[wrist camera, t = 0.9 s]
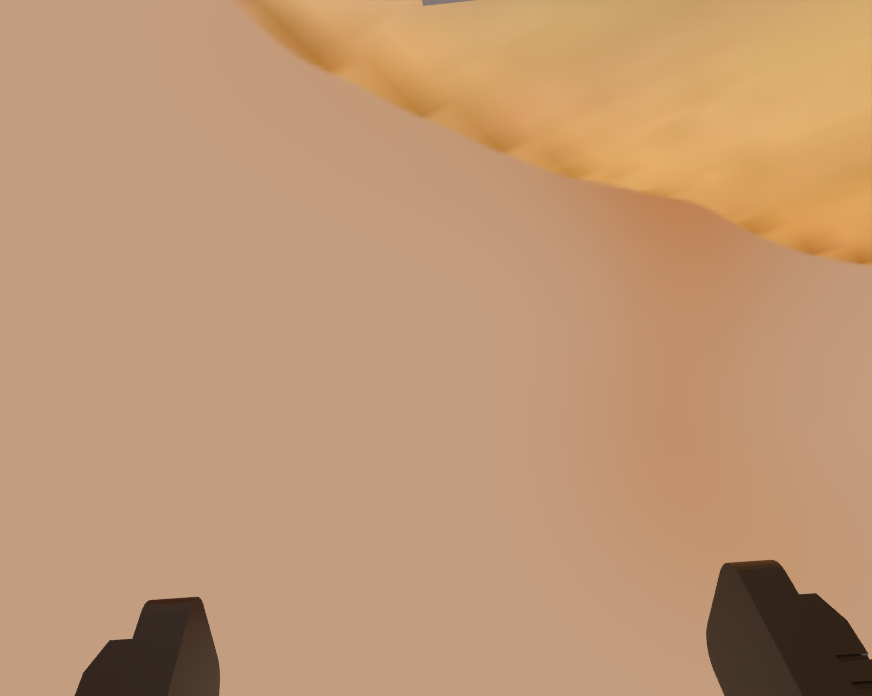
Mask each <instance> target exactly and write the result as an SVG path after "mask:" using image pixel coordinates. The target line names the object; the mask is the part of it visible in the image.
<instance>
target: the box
mask: <svg viewBox="0 0 872 696" xmlns="http://www.w3.org/2000/svg"><path fill="white" fill-rule="evenodd" d="M462 1H472V0H422V2H423V6H425V5H435V4H444V3H453V2H462Z"/></svg>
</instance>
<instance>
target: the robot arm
mask: <svg viewBox="0 0 872 696" xmlns="http://www.w3.org/2000/svg"><path fill="white" fill-rule="evenodd" d="M706 638H707V647H708V653H709V657H710V661H711V664H712V667H713V670H714V672H715V674H716V677H717V679H718V681H719V684H720V686H721V688H722V691H723V693H724V695H725V696H872V659H871V660H870V659H869V658H868V652H867V651H866V649H865V648H864V646H863V645H862V643H861V642H860V640H859V638H858V637H857V635H856V634H855V632H854V631H853V629H852V627H851V626H850V624H849V623H848V621H847V620H846V619H845V618H844V617H842V616H841V615H840V614H839V613H838V612H837V611H836V610H834V609H833V608H832V607H831V606H830V605H829V604H827V603H826V602H825V601H824V600H823V599H822V598H821V597H820V596H818V595H817V594H816V593H814V594H798V592H797V590H796V589H795V587H794V585H793V584H792V582H791V580H790V579H789V577H788V575H787V573H786V572H785V570H784V569H783V567H782V566H781V565H780V564H779V563H778V562H776V561H774V560H764V561H749V562H734V563H725V564H724V565H723V566H722V568H721V570H720V574H719V578H718V582H717V586H716V591H715V595H714V599H713V603H712V608H711V612H710V615H709V619H708V624H707V631H706ZM219 687H220V670H219V661H218V657H217V653H216V649H215V646H214V642H213V638H212V635H211V631H210V628H209V624H208V620H207V616H206V613H205V609H204V605H203V603H202V600H201V599H200V598H199V597H188V598H175V599H159V600H149V601H148V602H146V604H145V605H144V607H143V609H142V611H141V614H140V617H139V620H138V624H137V627H136V630H135V633H134V636H133V639H124V640H110V641H109V642H108V643H107V644H106V645H105V647H104V648H103V649H102V650H101V652H100V653H99V654H98V655H97V657H96V658H95V659H94V660H93V662H92V663H91V664H90V665H89V666H88V668H87V669H86V670H85V671H84V673H83V675H82V678H81V681H80V683H79V686H78V688H77V691H76V694H75V696H219Z"/></svg>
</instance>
